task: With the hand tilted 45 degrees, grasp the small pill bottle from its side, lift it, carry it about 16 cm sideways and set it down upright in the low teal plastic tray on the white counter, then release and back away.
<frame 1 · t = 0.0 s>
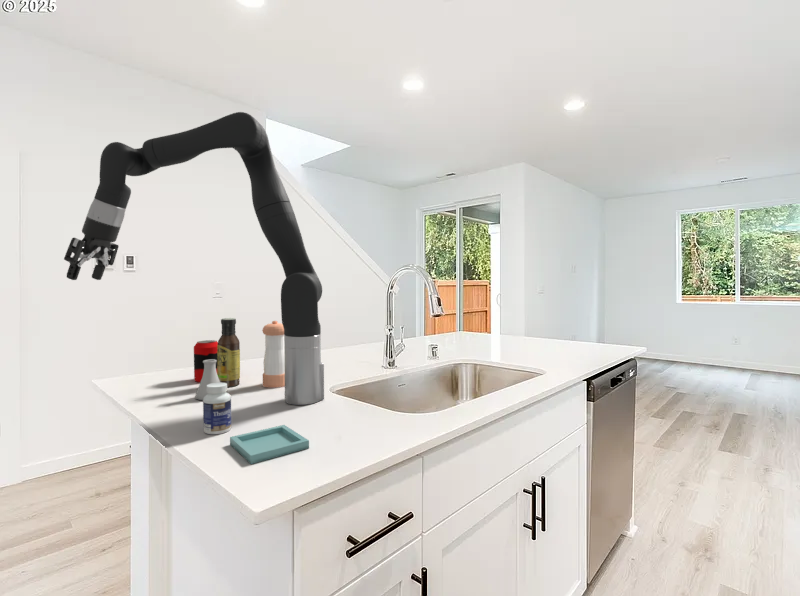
hand: (84, 279, 111), 31 cm above the counter, tool tilted 20°, fingers open, 8 cm apart
sauce bottle: (229, 385, 128), on the counter
flask: (210, 398, 115), on the counter
soda can: (207, 380, 134), on the counter
pill bottle: (217, 431, 90), on the counter
tray: (269, 446, 82), on the counter
salt shaker 2: (275, 385, 128), on the counter
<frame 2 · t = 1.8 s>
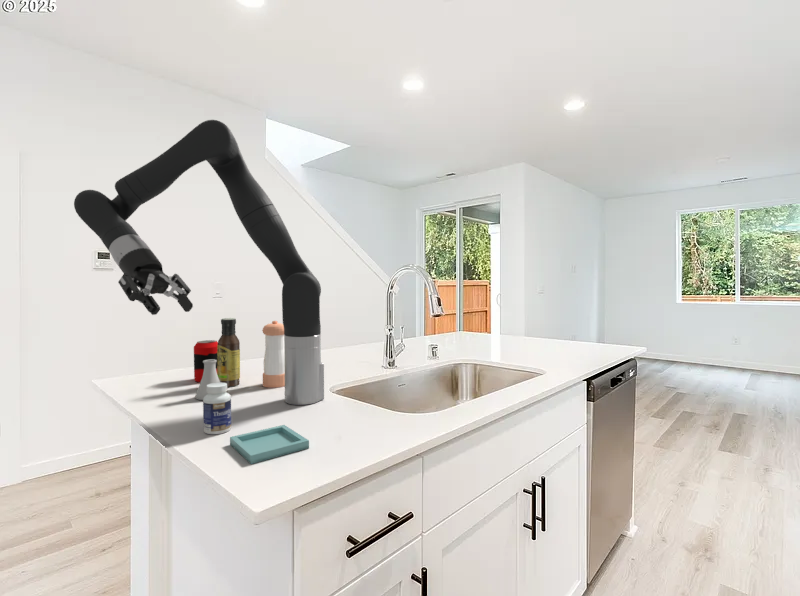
hand: (174, 310, 95), 25 cm above the counter, tool tilted 45°, fingers open, 8 cm apart
nothing on the counter moved.
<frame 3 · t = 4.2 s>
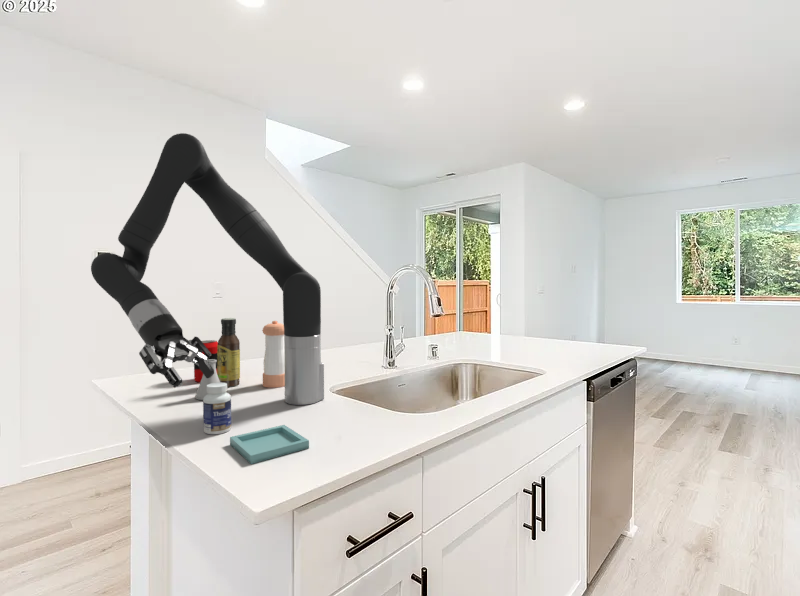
hand: (195, 380, 92), 10 cm above the counter, tool tilted 45°, fingers open, 8 cm apart
nothing on the counter moved.
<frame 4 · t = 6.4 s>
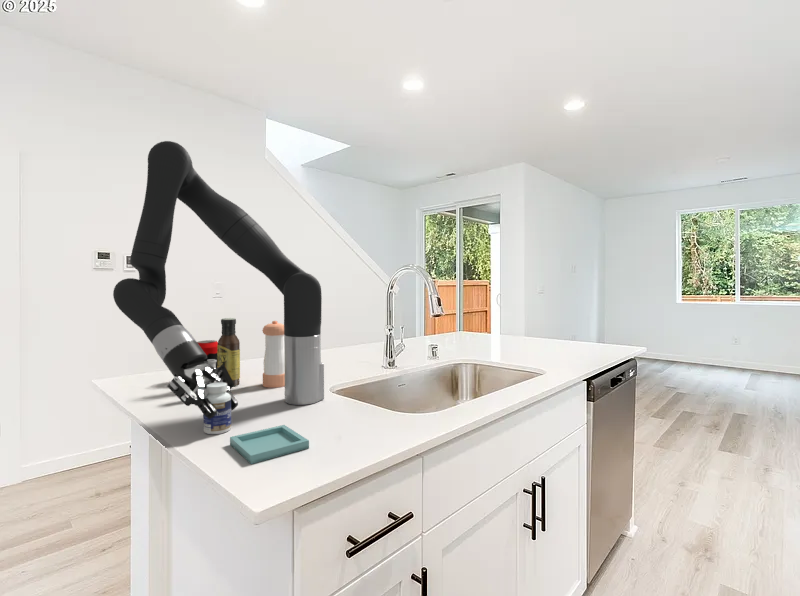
hand: (224, 411, 89), 4 cm above the counter, tool tilted 45°, fingers closed on pill bottle, 5 cm apart
pill bottle: (217, 431, 90), on the counter, touching gripper
everything else where it was.
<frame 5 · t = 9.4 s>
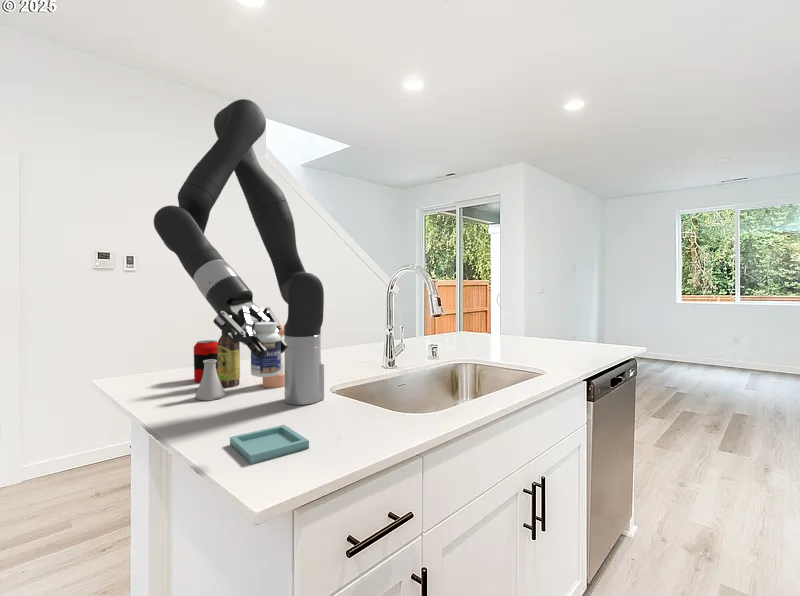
hand: (274, 352, 80), 18 cm above the counter, tool tilted 45°, fingers closed on pill bottle, 5 cm apart
pill bottle: (266, 375, 81), point 14 cm above the counter, touching gripper
everything else where it was.
when the fingers open (6 cm above the counter, at t = 12.2 s): pill bottle drops 1 cm, resting on tray.
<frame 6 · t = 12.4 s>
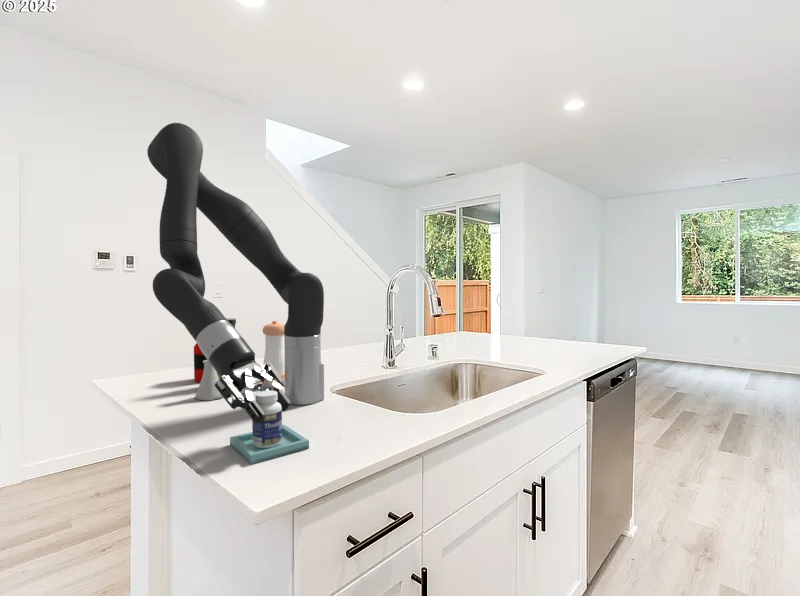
hand: (275, 413, 81), 6 cm above the counter, tool tilted 45°, fingers open, 7 cm apart
pill bottle: (267, 444, 82), resting on tray
everything else where it was.
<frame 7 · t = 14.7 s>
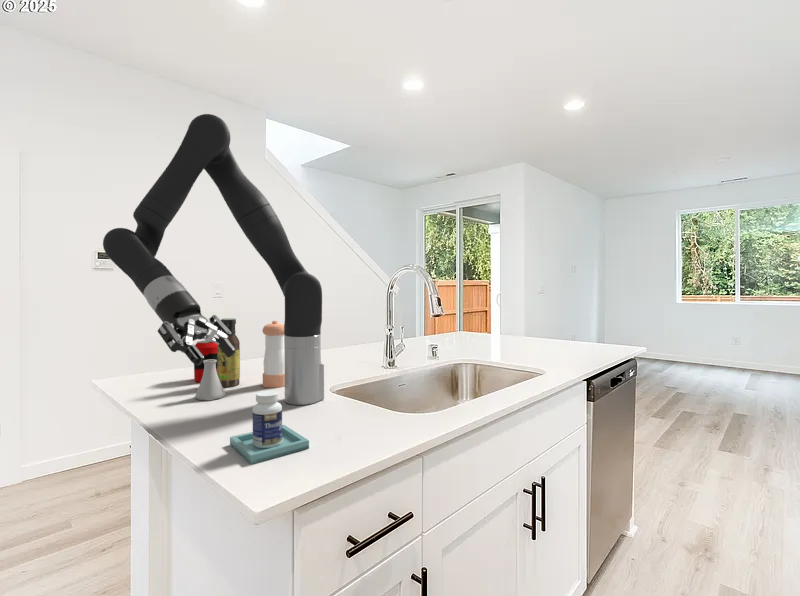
hand: (217, 358, 87), 16 cm above the counter, tool tilted 45°, fingers open, 8 cm apart
nothing on the counter moved.
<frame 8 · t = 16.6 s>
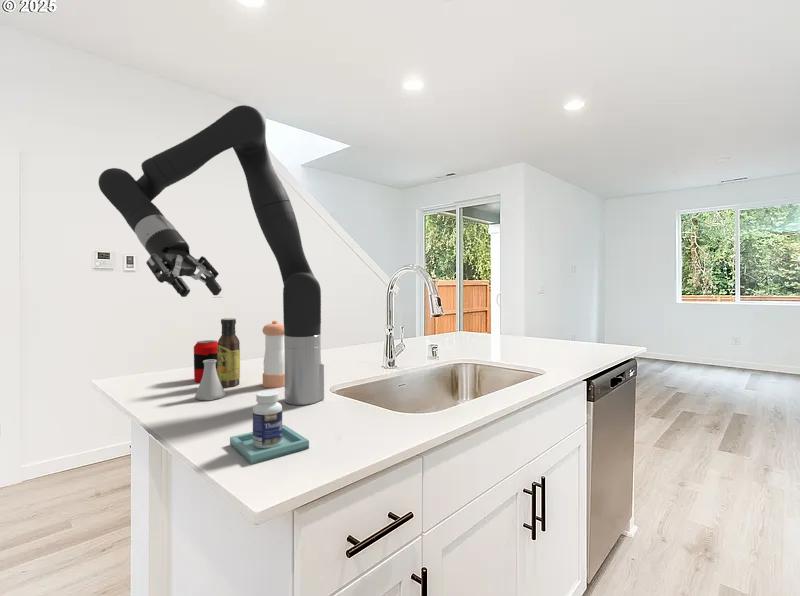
hand: (203, 293, 91), 29 cm above the counter, tool tilted 45°, fingers open, 8 cm apart
nothing on the counter moved.
at the end: pill bottle inside the target area on the tray (0.2 cm from its centre), point 0.3 cm above the tray's base; pill bottle tilted 0°; the gripper is holding nothing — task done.
